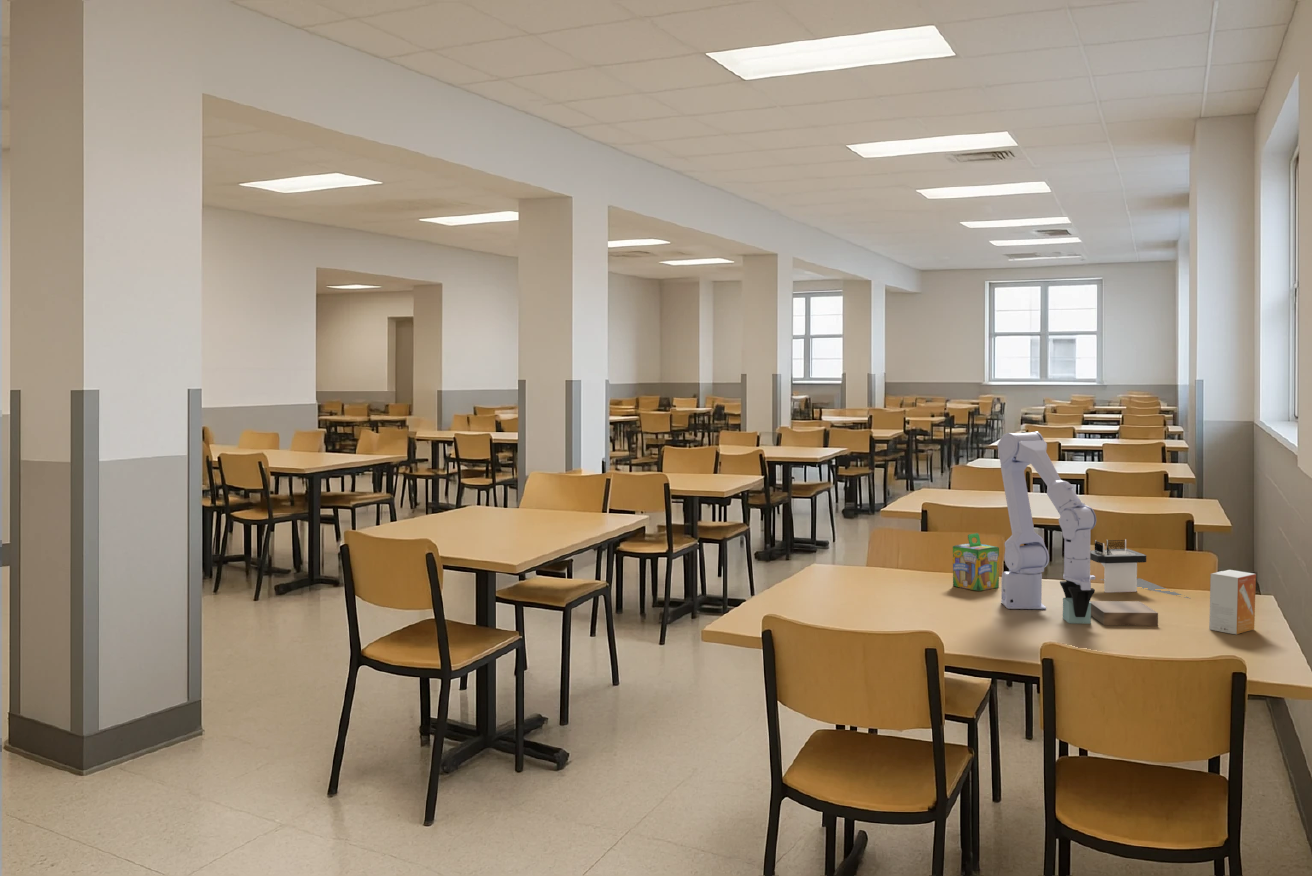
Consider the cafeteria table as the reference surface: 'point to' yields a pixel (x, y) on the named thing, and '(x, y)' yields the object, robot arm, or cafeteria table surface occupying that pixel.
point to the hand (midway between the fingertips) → (1076, 614)
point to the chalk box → (975, 565)
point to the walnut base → (1123, 613)
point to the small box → (1232, 601)
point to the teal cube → (1070, 615)
